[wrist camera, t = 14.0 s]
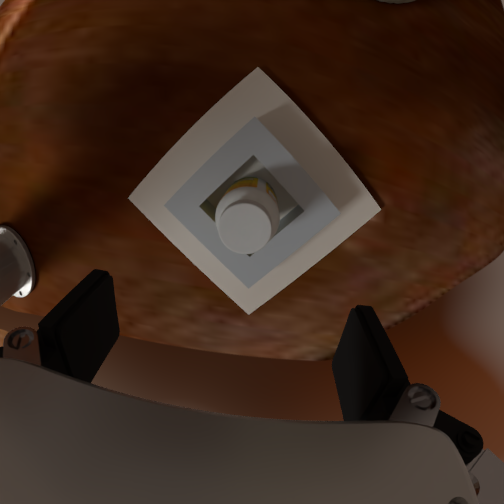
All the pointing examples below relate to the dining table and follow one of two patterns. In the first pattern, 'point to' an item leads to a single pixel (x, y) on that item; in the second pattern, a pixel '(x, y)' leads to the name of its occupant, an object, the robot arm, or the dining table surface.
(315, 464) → the robot arm
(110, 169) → the dining table surface
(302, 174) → the socket holder
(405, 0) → the canister
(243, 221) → the supplement bottle
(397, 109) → the dining table surface
